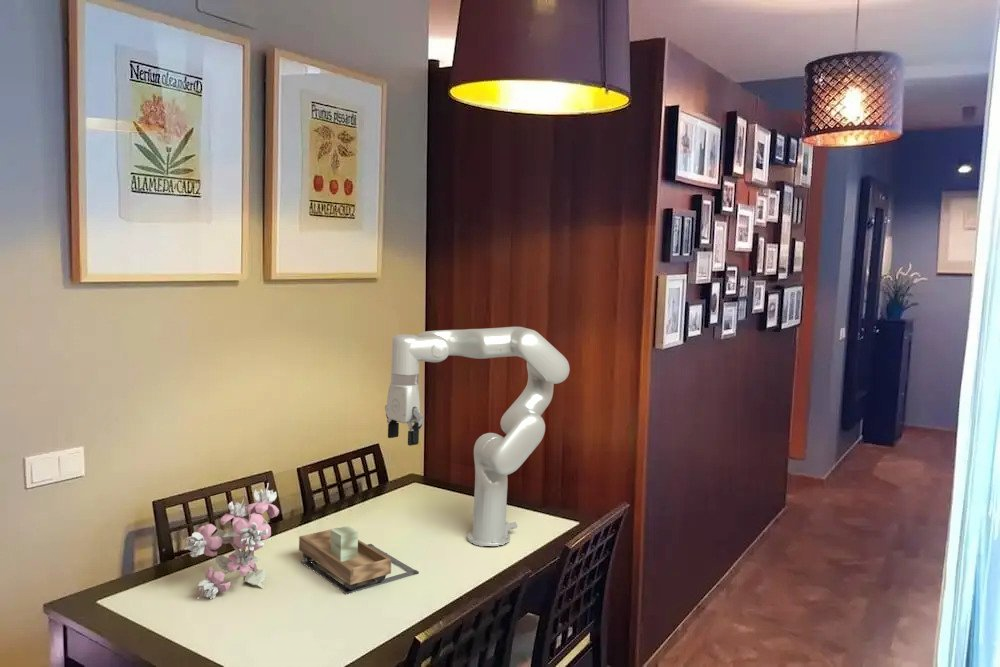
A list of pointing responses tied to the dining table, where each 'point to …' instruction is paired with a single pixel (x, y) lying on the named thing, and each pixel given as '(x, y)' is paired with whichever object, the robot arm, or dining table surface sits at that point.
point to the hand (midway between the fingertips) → (402, 441)
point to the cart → (350, 570)
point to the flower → (235, 542)
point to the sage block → (344, 543)
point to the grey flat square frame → (368, 585)
